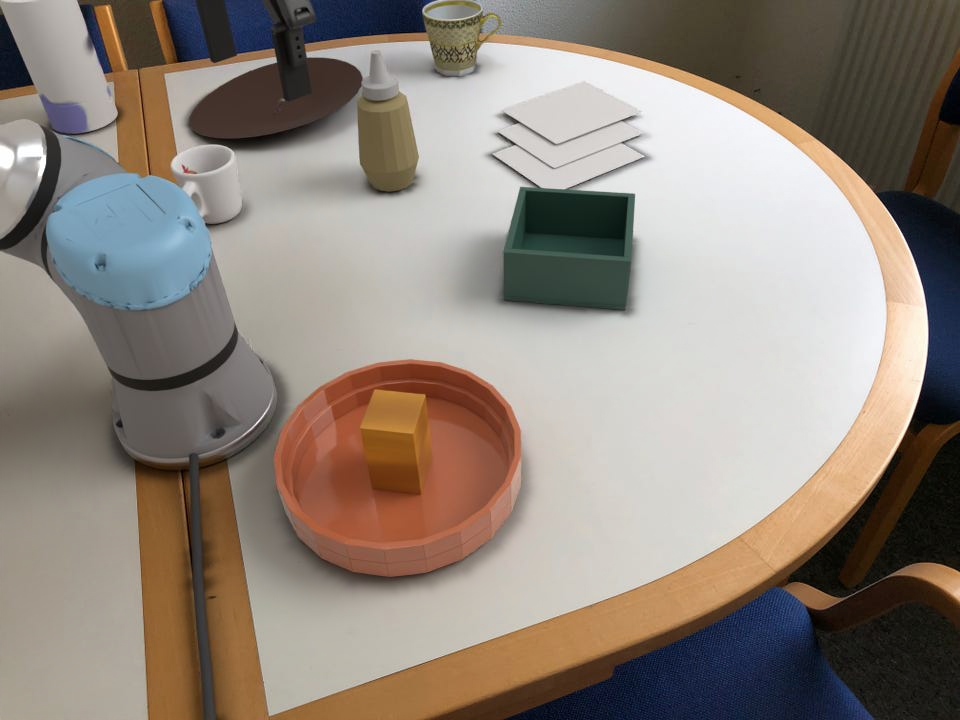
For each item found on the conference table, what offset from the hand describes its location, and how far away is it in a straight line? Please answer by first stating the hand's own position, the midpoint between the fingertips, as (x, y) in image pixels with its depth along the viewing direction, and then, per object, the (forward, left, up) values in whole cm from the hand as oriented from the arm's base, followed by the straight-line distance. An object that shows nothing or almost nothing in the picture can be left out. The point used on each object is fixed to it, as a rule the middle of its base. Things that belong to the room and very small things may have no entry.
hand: (259, 77), depth 80 cm
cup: (+8, +15, -24) cm, 29 cm away
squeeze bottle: (+20, -6, -24) cm, 32 cm away
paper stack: (+36, -29, -24) cm, 52 cm away
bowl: (-30, -20, -23) cm, 43 cm away
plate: (+40, +18, -24) cm, 50 cm away
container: (+33, +48, -24) cm, 63 cm away
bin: (+3, -32, -24) cm, 40 cm away
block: (-30, -20, -23) cm, 42 cm away
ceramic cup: (+58, -9, -24) cm, 64 cm away
